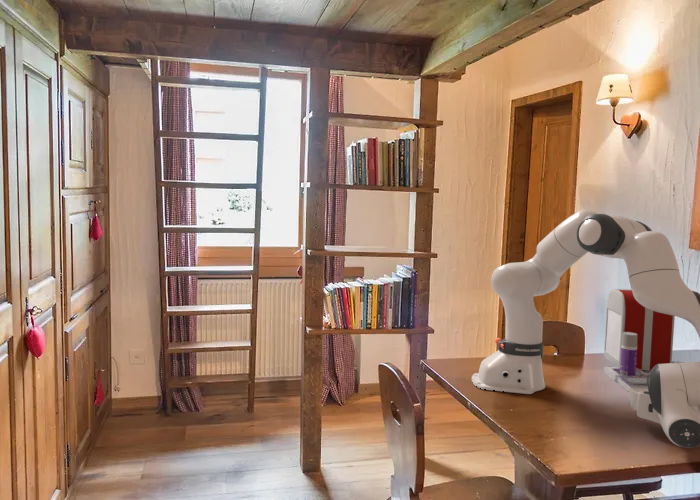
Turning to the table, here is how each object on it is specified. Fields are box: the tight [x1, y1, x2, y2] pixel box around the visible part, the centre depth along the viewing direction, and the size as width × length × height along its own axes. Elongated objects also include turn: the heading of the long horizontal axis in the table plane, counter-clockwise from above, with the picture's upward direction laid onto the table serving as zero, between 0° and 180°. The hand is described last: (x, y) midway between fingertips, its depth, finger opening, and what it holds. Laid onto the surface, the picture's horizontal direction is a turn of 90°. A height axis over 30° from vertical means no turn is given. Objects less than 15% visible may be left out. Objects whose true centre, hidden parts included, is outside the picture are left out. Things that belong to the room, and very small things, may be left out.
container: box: [620, 332, 637, 376], centre depth 182 cm, size 5×5×15 cm
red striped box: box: [603, 288, 676, 371], centre depth 200 cm, size 16×18×27 cm
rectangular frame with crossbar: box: [603, 366, 648, 394], centre depth 178 cm, size 21×11×2 cm, turn 176°
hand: (670, 393), depth 147 cm, fingers open, 8 cm apart
